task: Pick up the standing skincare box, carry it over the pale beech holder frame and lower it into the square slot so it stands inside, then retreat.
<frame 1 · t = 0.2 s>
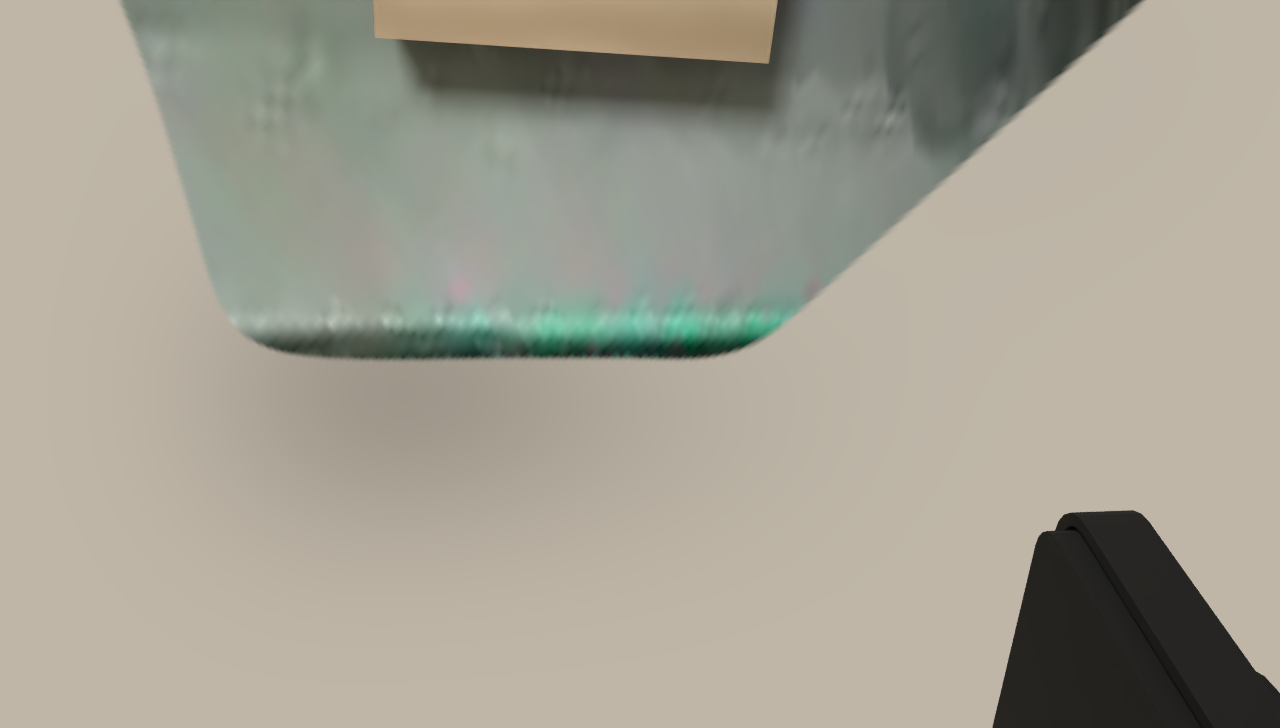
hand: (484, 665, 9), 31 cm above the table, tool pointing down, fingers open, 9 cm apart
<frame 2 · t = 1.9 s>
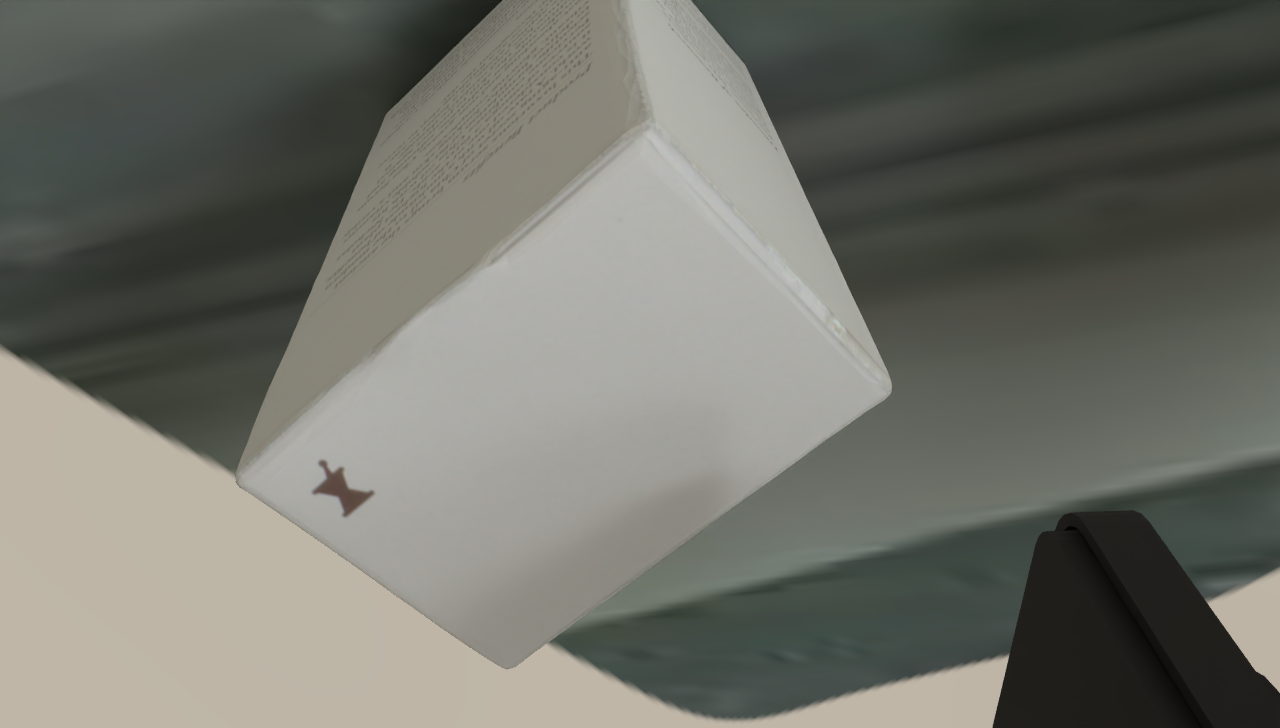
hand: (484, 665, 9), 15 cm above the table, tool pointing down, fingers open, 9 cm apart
skincare box: (570, 84, 22), on the table
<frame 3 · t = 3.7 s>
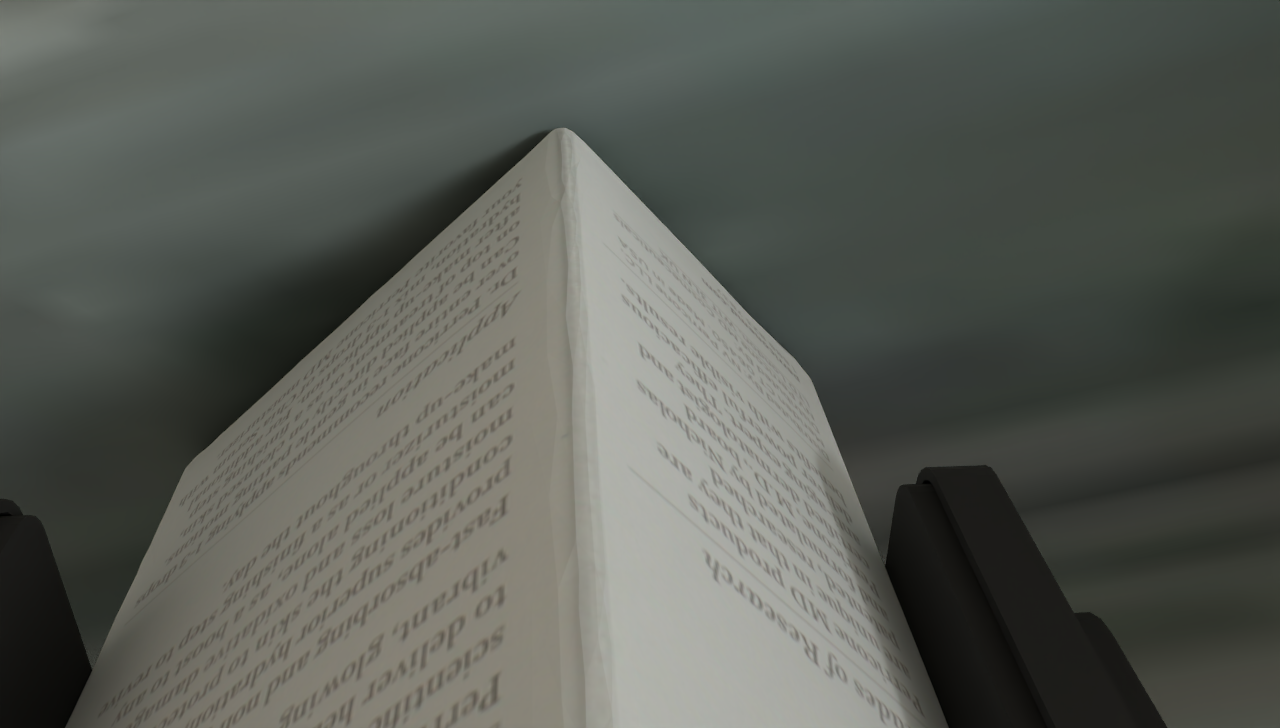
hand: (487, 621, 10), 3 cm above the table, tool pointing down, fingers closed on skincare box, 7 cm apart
skincare box: (508, 403, 13), on the table, touching gripper
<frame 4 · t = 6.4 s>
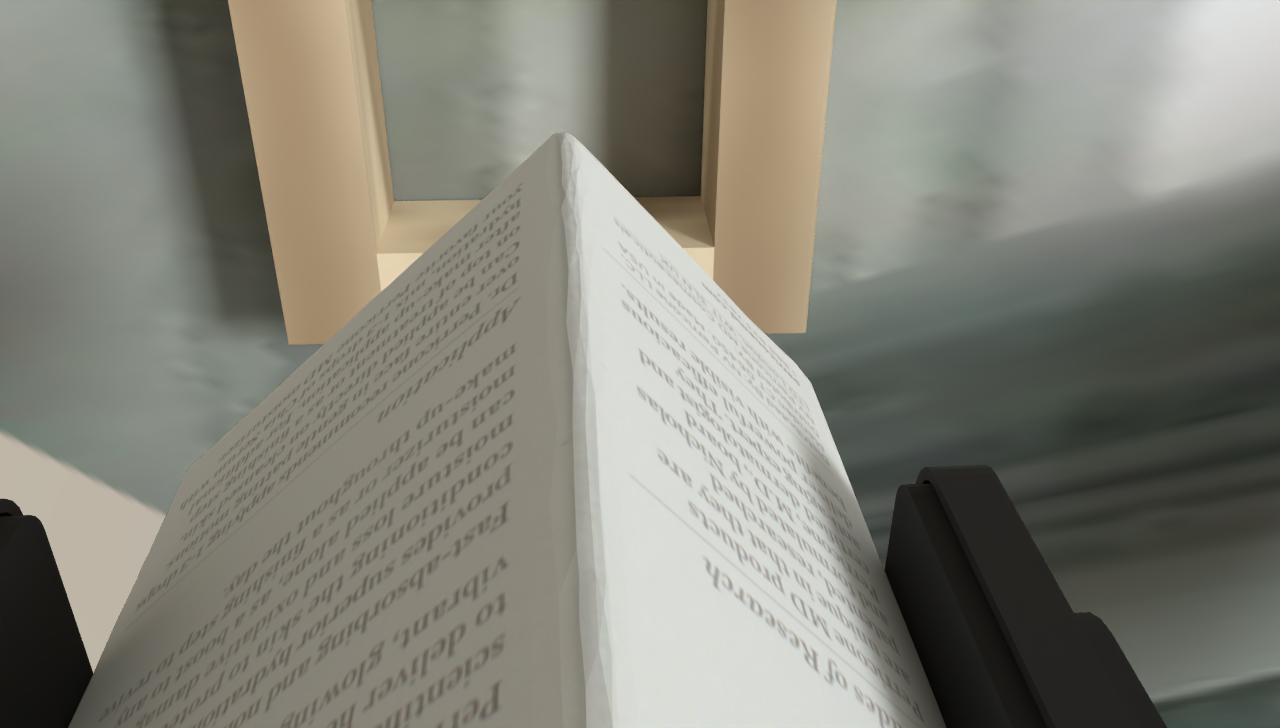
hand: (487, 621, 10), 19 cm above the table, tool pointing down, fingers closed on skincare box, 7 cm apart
holder: (542, 45, 26), on the table
skincare box: (508, 406, 13), point 15 cm above the table, touching gripper
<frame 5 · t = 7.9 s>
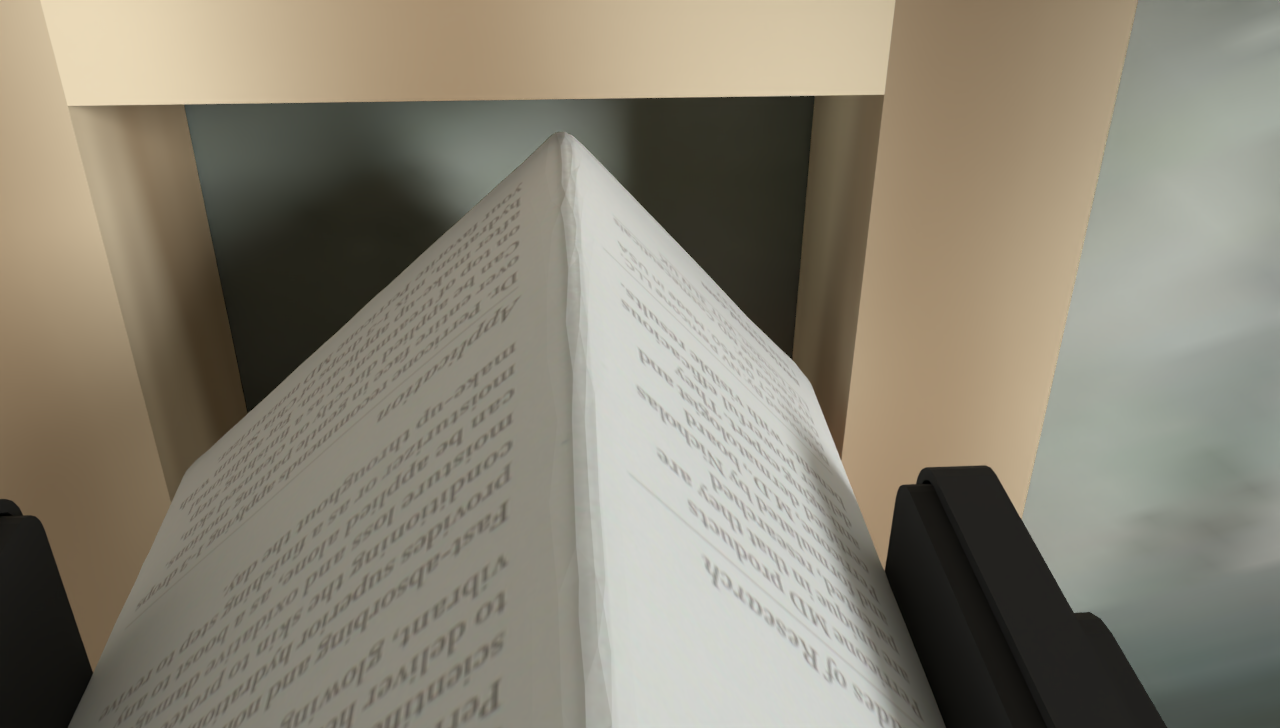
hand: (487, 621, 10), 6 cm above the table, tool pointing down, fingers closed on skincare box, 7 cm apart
holder: (516, 307, 15), on the table
skincare box: (508, 406, 13), point 2 cm above the table, touching gripper
when the fingers open (5 cm above the table, at t = 8.9 s): skincare box drops 2 cm, on the table.
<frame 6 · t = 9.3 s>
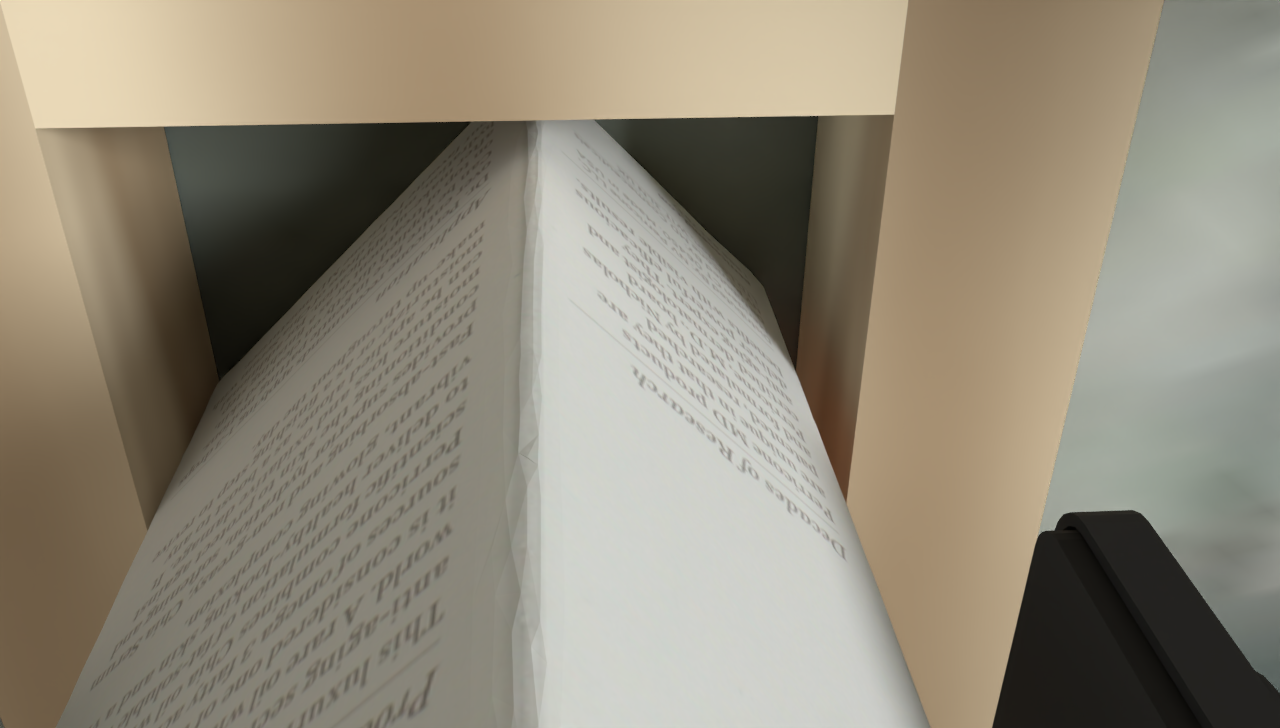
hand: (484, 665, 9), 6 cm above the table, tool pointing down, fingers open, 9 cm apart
holder: (509, 329, 14), on the table
skincare box: (498, 320, 15), on the table
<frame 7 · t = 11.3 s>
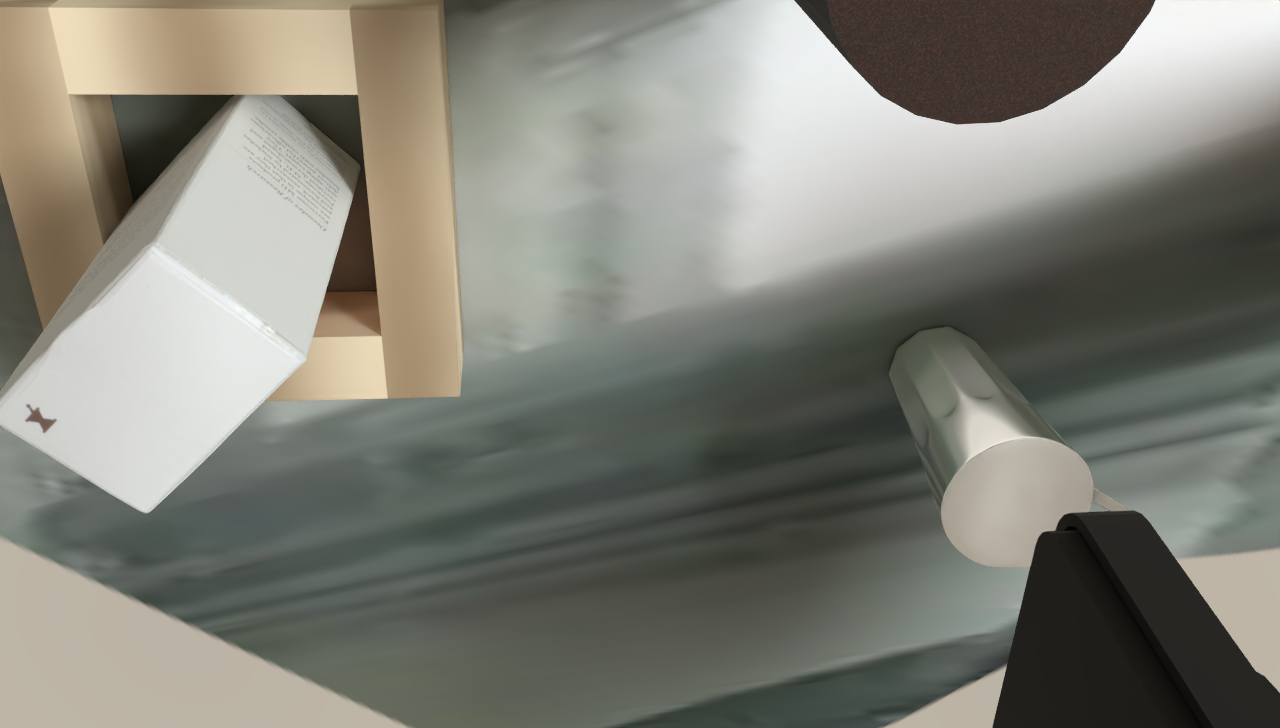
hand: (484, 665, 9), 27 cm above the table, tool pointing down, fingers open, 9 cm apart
holder: (256, 183, 35), on the table
skincare box: (253, 180, 35), on the table
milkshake: (942, 360, 41), on the table
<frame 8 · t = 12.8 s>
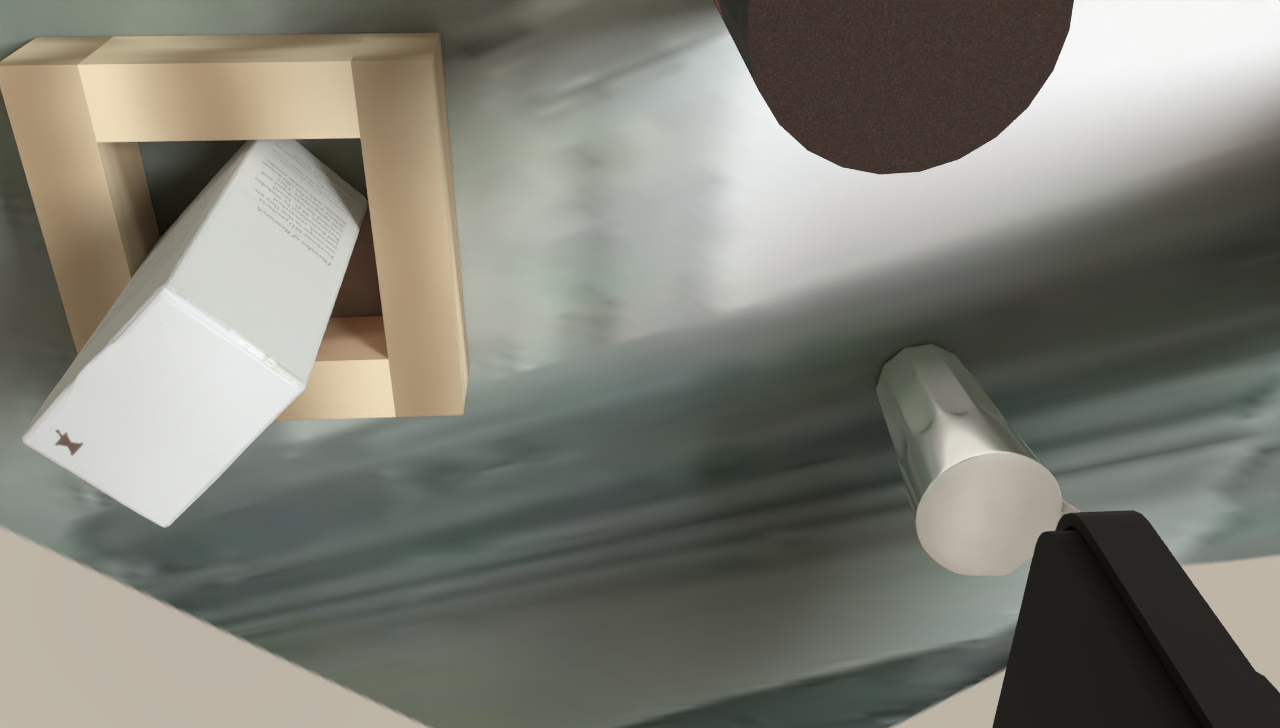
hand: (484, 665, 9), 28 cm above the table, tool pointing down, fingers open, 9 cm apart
holder: (272, 218, 37), on the table
skincare box: (269, 215, 37), on the table
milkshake: (928, 376, 42), on the table
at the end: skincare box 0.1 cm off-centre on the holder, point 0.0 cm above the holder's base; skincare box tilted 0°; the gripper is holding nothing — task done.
